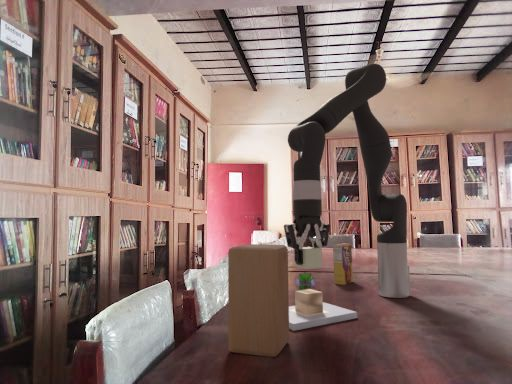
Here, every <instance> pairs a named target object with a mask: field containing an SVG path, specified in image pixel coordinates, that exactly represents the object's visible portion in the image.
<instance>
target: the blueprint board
mask: <svg viewBox="0 0 512 384" xmlns="http://www.w3.org/2000/svg"><path fill="white" fill-rule="evenodd" d="M357 318H358V312H357V311H355V310H352V309H348V308H344V307H341V306H338V305H334V304H331V303H328V302H324V301H323V312H320V313H315V314H309V315H307V314H304V313H301V312H298V311H295V305H289V330H291V331H294V332H295V331H299V330H304V329H309V328H314V327H320V326H324V325H329V324H335V323H339V322H344V321H349V320H354V319H357Z"/></svg>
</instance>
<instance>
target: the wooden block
mask: <svg viewBox="0 0 512 384" xmlns="http://www.w3.org/2000/svg"><path fill="white" fill-rule="evenodd" d="M227 254H228V256H227V258H228V262H227V263H228V265H227V266H228V267H227V268H228V280H227V281H228V284H227V285H228V287H227V288H228V293H227V294H228V299H227V300H228V302H227V303H228V308H227V309H228V314H227V315H228V350H229V351H230V352H231V353H237V354H245V355H252V356H253V355H254V356H262V357H269V358H275V357H278V356H279V354H281V351H283V349H284V348H285V346H286V345H287V344H288V342H289V340H290V329H289V306H290V305H289V300H290V299H289V297H290V296H289V248H288V246H286V245H284V244H257V243H256V244H255V243H254V244H252V243H251V244H250V243H249V244H242V245H237V246H233V247H230V248H229V249H228V252H227Z"/></svg>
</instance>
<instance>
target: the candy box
mask: <svg viewBox="0 0 512 384" xmlns="http://www.w3.org/2000/svg"><path fill="white" fill-rule="evenodd" d="M332 251H333V252H332V253H333V254H332V255H333V257H332V258H333V276H334V277H333V278H334V279H333V280H334V284H335V285H341V286H344V285H347V284H350V283H354V274H353V268H354V267H353V256H352V255H353V253H352V243H345V242H343V243H337V244H332Z"/></svg>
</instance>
